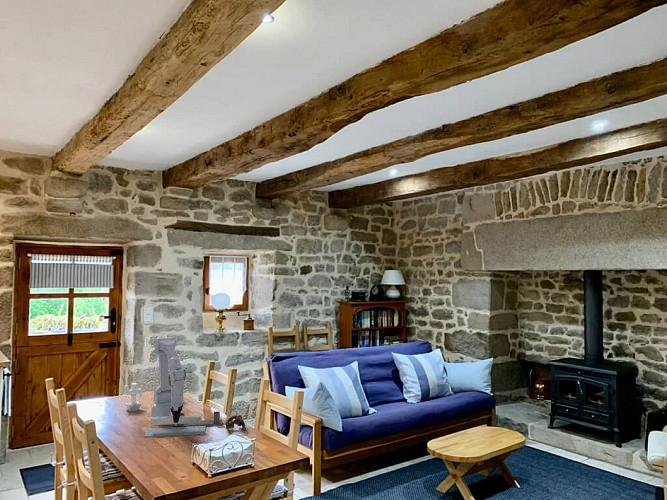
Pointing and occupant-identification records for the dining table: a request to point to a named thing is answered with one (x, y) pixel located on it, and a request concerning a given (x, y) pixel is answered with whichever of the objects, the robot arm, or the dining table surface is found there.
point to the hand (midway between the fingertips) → (176, 421)
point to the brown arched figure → (235, 422)
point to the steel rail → (170, 421)
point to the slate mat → (175, 431)
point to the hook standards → (203, 421)
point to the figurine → (133, 397)
